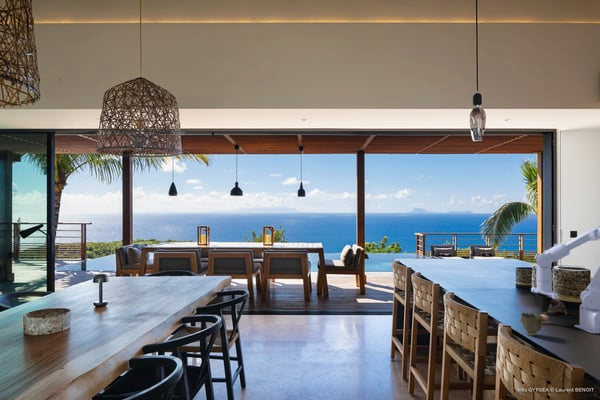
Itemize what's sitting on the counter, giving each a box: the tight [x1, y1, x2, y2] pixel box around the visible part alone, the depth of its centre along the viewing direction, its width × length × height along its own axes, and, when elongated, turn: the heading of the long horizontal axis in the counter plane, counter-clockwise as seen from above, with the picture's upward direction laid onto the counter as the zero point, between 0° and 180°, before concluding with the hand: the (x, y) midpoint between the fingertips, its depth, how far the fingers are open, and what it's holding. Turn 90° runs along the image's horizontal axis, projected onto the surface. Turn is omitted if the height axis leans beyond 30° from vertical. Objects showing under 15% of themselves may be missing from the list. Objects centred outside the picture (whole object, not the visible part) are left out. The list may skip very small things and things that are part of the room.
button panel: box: [519, 317, 553, 325], centre depth 167 cm, size 5×11×1 cm, turn 93°
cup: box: [520, 312, 543, 337], centre depth 150 cm, size 8×7×8 cm
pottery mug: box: [543, 298, 568, 316], centre depth 184 cm, size 12×10×8 cm
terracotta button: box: [540, 313, 549, 320], centre depth 167 cm, size 3×3×2 cm
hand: (544, 311), depth 167 cm, fingers closed
